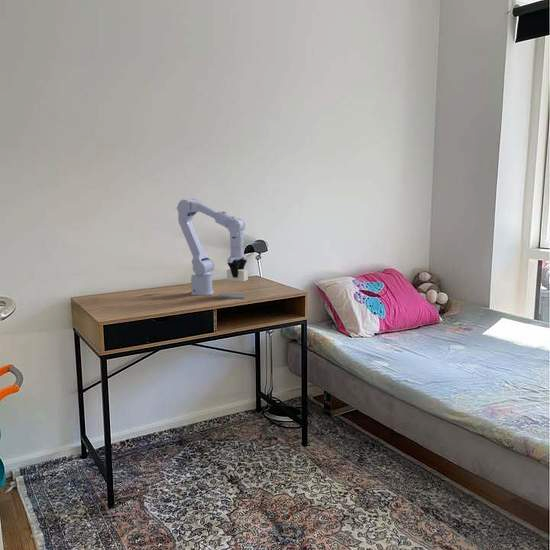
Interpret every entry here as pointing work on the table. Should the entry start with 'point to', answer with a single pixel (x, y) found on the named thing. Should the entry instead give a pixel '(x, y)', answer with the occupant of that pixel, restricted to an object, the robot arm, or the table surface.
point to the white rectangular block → (241, 275)
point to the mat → (231, 295)
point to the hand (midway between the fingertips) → (237, 276)
